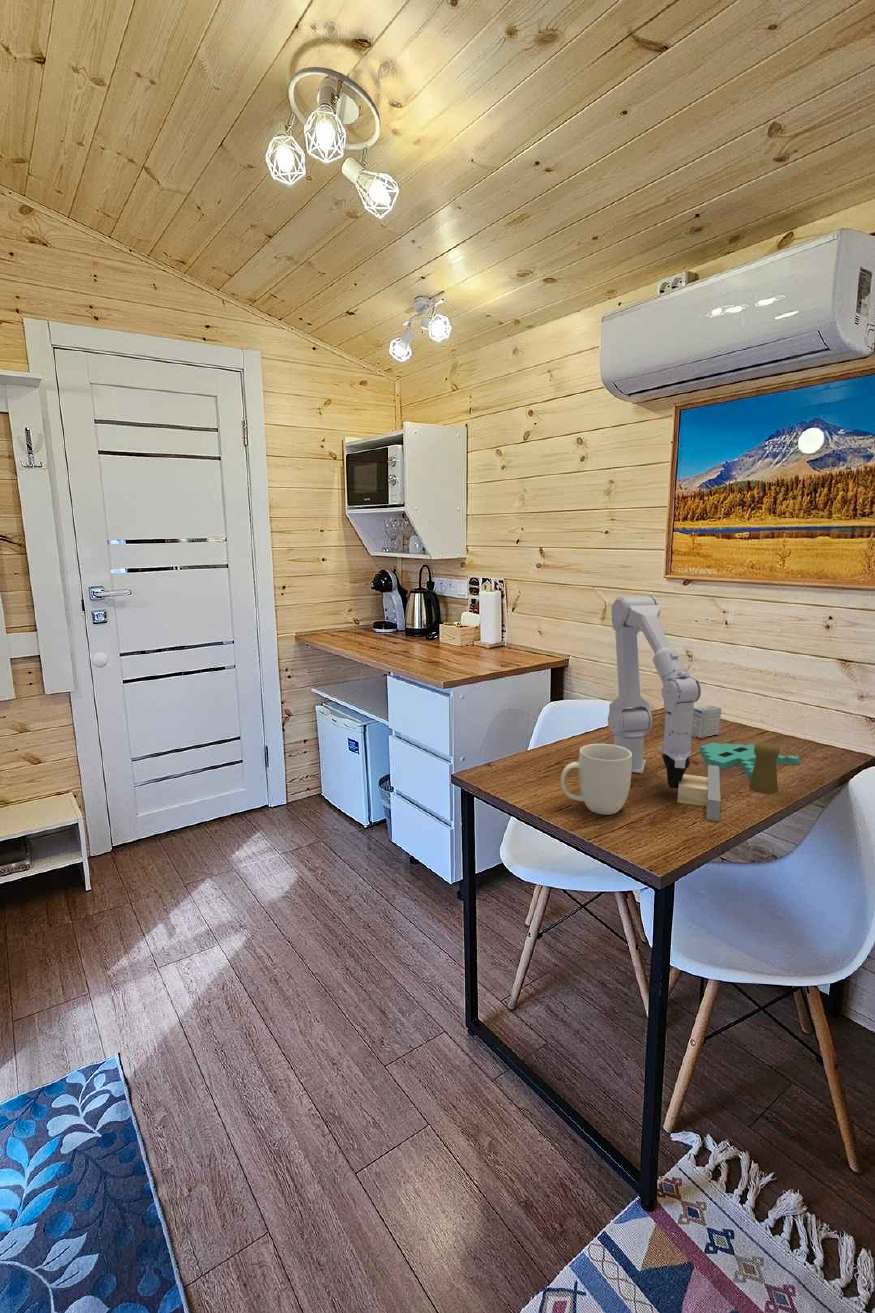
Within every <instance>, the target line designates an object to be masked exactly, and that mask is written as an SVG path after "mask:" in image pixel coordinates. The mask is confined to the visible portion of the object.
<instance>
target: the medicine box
mask: <svg viewBox="0 0 875 1313" xmlns="http://www.w3.org/2000/svg"><path fill="white" fill-rule="evenodd" d="M721 716H722V708H721V707H718V706H715V705H711V704H707V705H701V706H699V705H698V706H695V707H694V709H693V721H692V733H691V735H693V736H698V737H704V736H711V735H715V734H718V733H719V734H720V729H721V728H720V727H721V720H722V719H721ZM693 736H692V737H693Z"/></svg>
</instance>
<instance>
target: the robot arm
mask: <svg viewBox="0 0 875 1313" xmlns="http://www.w3.org/2000/svg"><path fill="white" fill-rule="evenodd" d="M660 615H661V607H660V603H659V602H658V599H657V598H656V597H655V596H654V595H647V596H646V595H645V596H618V597H616V599H615V600H614V602H613V604H612V605H611V623H612V624H611V625H612V627H611V628H612V630H614V631H615V649H616V650H615V651H616V652H615V653H616V666H617V668H616V669H617V670H616V671H617V683H618V684H617V685H618V697H616V698H615V699H614V700H613V701H611V703H610V704H609V706H608V707H609V709H608V711H609V712H608V715H607V725H608V727H609V730H610V731H611V732H612V733H613V734H614V741H613V742H614V743H613V745H617V746H621V747H624V748H626V749H628V750H629V751H630V752H631V753H632V768H631V770H632V771H631V773H637V774H643V773H644V770H645V767H646V763H647V760H646V759H644V740H645V736H646V735H648V731H650V730H651V728H652V725H653V716H652V712H651V709H650V702H648V701H647V700H646V699H645V698H643V697H642V696H641V687H640V686H641V684H640V668H639V651H638V649H639V648H638V647H639V646H638V635H639V633H640V631H641V633H642V634H643V636H644V637H645V639H646V641H647V643H648V644H649V646H650V648H651V650H652V651H653V653H654V655H653V657H652V663H653V665H654V667H655V669H656V672H657V673H658V674H657V675H658V676H659V678H660V680H661V682H662V684H663V686H662V687H661V696H662V700H663V707H664V710H665V719H664V729H663V730H664V731H663V744H662V746H661V745H658V746H657V751H658V753H659V752H660V753H662V754H661V757H662V761H663V763H664V765H665V770H666V779H667V784H668V788H669V789H678V786H679V781H682V777H683V775H684V774H685V773H686V771H687V769H688V768H689V766H690V764H691V762H690V758H689V757H690V756H691V754H692V749H691V744H692V736H691V733H692V721H693V709H694V705H695V703H697V701H699V700H700V699H701V696H702V687H701V684H700V682H699V681H700V680H698V678H697V677H695V676H693V675H692V674H691V673H690V672H688V671H687V668H686V667H685V665H684V663H683V661H682V658H681V657H680V655H679V653H678V650H676V649H675V648H671V647H670V646H669V643H668V640H667V637H666V635H665V632H664V630H663V627H662V624H661V621H660V619H659V618H660Z"/></svg>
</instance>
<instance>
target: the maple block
mask: <svg viewBox="0 0 875 1313" xmlns="http://www.w3.org/2000/svg"><path fill="white" fill-rule="evenodd" d="M707 794H708V777H707V776H702V775H701V776H700V775H695V774H694V775H692V774H685V773H684V775H683V777H682V781H679V786H678V790H677V803H679V804H686V805H692V806H698V807H699V806H700V807H705V808H707Z"/></svg>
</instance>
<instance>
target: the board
mask: <svg viewBox="0 0 875 1313" xmlns="http://www.w3.org/2000/svg"><path fill="white" fill-rule="evenodd" d="M706 777H708V794H707V807H706V820H708V821H713V822H720V813H721V803H722V802H721V782H720V781H721V778H720V769H719V766H713V765H707V776H706Z"/></svg>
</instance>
